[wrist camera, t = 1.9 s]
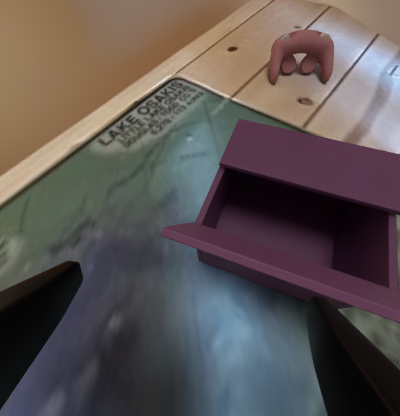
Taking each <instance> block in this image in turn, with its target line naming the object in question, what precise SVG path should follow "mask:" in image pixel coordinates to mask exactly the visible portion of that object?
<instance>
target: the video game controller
mask: <svg viewBox="0 0 400 416" xmlns="http://www.w3.org/2000/svg"><path fill="white" fill-rule="evenodd" d="M297 53H307V55H306V56H305V57H304V58H303V60H302V61H301V64H300V70H301V71H302V72H304V73H309V72H311V71H312V70H313V69H314V67H315V66H316V65H317V63H319V65H320V69H321V77H322V80H323V82H327V81H328V80H329V78H330V76H331V74H332V70H333V58H334V44H333V41H332V39H331V38H330V35H329V34H326V33H322V32H319V31H316V30H300V31H295V32H292V33H289V34H285V35H283V36H281V37H280V38H278V39H277V40H276V41H275V42H274V43H273V46H272V49H271V57H270V80H271V82H272V83H275V82H276V80H277V78H278V76H279V71H280V67H281V70H282V71H283V72H284V73H291V72H292V71H293V70H294V69H295V67H296V59H295V58H294V56H293V54H297Z"/></svg>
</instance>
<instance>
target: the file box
mask: <svg viewBox="0 0 400 416" xmlns="http://www.w3.org/2000/svg"><path fill="white" fill-rule="evenodd" d="M219 166H220V167H219V169H218V172H217V174H216V176H215V179H214V181H213V183H212V185H211V188H210V190H209V192H208V194H207V197H206V199H205V201H204V204H203V206H202V208H201V210H200V213H199V215H198V217H197V219H196V222H195V223H197V224H200V225H203V226H206V227H209V228H212V229H215V230H218V231H221V232H224V233H227V234H230V235H233V236H236V237H239V238H242V239H245V240H247V241H250V242H253V243H256V244H259V245H262V246H265V247H268V248H271V249H274V250H277V251H280V252H283V253H286V254H289V255H292V256H295V257H298V258H300V259H303V260H306V261H309V262H312V263H315V264H318V265H321V266H324V267H327V268H330V269H333V270H336V271H339V272H342V273H345V274H348V275H351V276H353V277H356V278H359V279H362V280H365V281H368V282H371V283H374V284H377V285H380V286H383V287H386V288H389V289H392V290H395V291H398V261H397V224H396V214H397V215H400V154H395V153H391V152H386V151H382V150H377V149H373V148H368V147H364V146H359V145H355V144H350V143H346V142H341V141H337V140H332V139H328V138H323V137H318V136H314V135H309V134H305V133H300V132H296V131H291V130H287V129H282V128H278V127H273V126H269V125H264V124H260V123H255V122H251V121H246V120H242V119H239V120H238V122H237V125H236V127H235V129H234V131H233V134H232V136H231V138H230V140H229V143H228V145H227V147H226V149H225V152H224V154H223V156H222V158H221V161H220V164H219ZM197 254H198V259H199V261H201V262H203V263H206V264H209V265H211V266H214V267H217V268H219V269H222V270H224V271H227V272H230V273H232V274H235V275H238V276H240V277H243V278H246V279H248V280H251V281H254V282H256V283H259V284H262V285H264V286H267V287H269V288H272V289H275V290H277V291H280V292H283V293H285V294H288V295H291V296H293V297H296V298H299V299H301V300H304V301H307V302H309V301H310V299H311V297H312V296H318V297H324V298H326V299H327V300H328V301H329V302H330V303H331V304H332V305H333V306H334V307H335V308H336V309H341V308H347V307H353V306H352V305H349V304H346V303H343V302H341V301H338V300H335V299H332V298H330V297H327V296H324V295H322V294H319V293H316V292H313V291H311V290H308V289H305V288H302V287H300V286H297V285H294V284H291V283H289V282H286V281H283V280H281V279H278V278H275V277H272V276H270V275H267V274H264V273H261V272H259V271H256V270H253V269H251V268H248V267H245V266H242V265H240V264H237V263H234V262H231V261H229V260H226V259H223V258H220V257H218V256H215V255H212V254H210V253H207V252H204V251H201V250H199V249H197Z"/></svg>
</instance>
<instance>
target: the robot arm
mask: <svg viewBox="0 0 400 416" xmlns="http://www.w3.org/2000/svg"><path fill="white" fill-rule="evenodd" d="M82 281H83V275H82V271H81V267H80V264H79V263H78V262H75V261H66V262H64V263H62V264H60V265H57V266H55V267H53V268H51V269H49V270H47V271H44V272H42V273H40V274H38V275H36V276H33V277H31V278H29V279H27V280H25V281H23V282H20V283H18V284H16V285H14V286H12V287H9V288H7V289H5V290H3V291H1V292H0V410H1V408H2V407H3V405H4V404H5V402H6V401H7V399H8V398H9V396H10V395H11V393H12V392H13V390H14V389H15V387H16V386H17V384H18V383H19V382H20V380H21V379H22V377H23V376H24V374H25V373H26V371H27V370H28V368H29V367H30V365H31V364H32V362H33V361H34V359H35V358H36V356H37V355H38V354H39V352H40V351H41V349H42V348H43V346H44V345H45V343H46V342H47V340H48V339H49V337H50V336H51V334H52V333H53V331H54V330H55V328H56V327H57V326H58V324H59V322H60V321H61V319H62V318H63V316H64V314H65V313H66V311H67V309H68V307H69V305H70V304H71V302H72V300H73V298H74V296H75V295H76V293H77V291H78V289H79V287H80V286H81V284H82ZM305 318H306V324H307V330H308V336H309V342H310V347H311V353H312V359H313V364H314V368H315V372H316V375H317V379H318V383H319V386H320V390H321V394H322V397H323V401H324V405H325V408H326V412H327V415H328V416H400V370H399V369H398V368H397V367H396V366H395V365H394V364H393V363H392V362H391V361H390V360H389V359H388V358H387V357H386V356H385V355H384V354H383V353H382V352H381V351H380V350H379V349H378V348H377V347H376V346H374V345H373V344H372V343H371V342H370V341H369V340H368V339H367V338H366V337H365V336H364V335H363V334H362V333H361V332H360V331H359V330H358V329H357V328H356V327H355V326H354V325H353V324H352V323H351V322H350V321H349V320H348V319H347V318H346V317H344V316H343V315H342V314H341V313H340V312H339V311H338V310H337V309H336V308H335V307H334V306H333V305H332V304H331V303H330V302H329V301H328V300H327V299H326V298H324V297H318V296H312V297H311V299H310V301H309V304H308V307H307V309H306V313H305Z"/></svg>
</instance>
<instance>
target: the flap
mask: <svg viewBox="0 0 400 416" xmlns="http://www.w3.org/2000/svg"><path fill="white" fill-rule="evenodd" d="M161 236H163V237H166V238H169V239H171V240H174V241H177V242H180V243H182V244H185V245H188V246H190V247H193V248H196V249H199V250H201V251H204V252H207V253H210V254H212V255H215V256H218V257H220V258H223V259H226V260H229V261H231V262H234V263H237V264H240V265H242V266H245V267H248V268H251V269H253V270H256V271H259V272H261V273H264V274H267V275H270V276H272V277H275V278H278V279H281V280H283V281H286V282H289V283H291V284H294V285H297V286H300V287H302V288H305V289H308V290H311V291H313V292H316V293H319V294H322V295H324V296H327V297H330V298H332V299H335V300H338V301H341V302H343V303H346V304H349V305H352V306H354V307H357V308H360V309H362V310H365V311H368V312H371V313H373V314H376V315H379V316H382V317H384V318H387V319H390V320H393V321H395V322H398V323H400V292H398V291H395V290H392V289H389V288H386V287H383V286H380V285H377V284H374V283H371V282H368V281H365V280H362V279H359V278H356V277H353V276H351V275H348V274H345V273H342V272H339V271H336V270H333V269H330V268H327V267H324V266H321V265H318V264H315V263H312V262H309V261H306V260H303V259H300V258H298V257H295V256H292V255H289V254H286V253H283V252H280V251H277V250H274V249H271V248H268V247H265V246H262V245H259V244H256V243H253V242H250V241H247V240H245V239H242V238H239V237H236V236H233V235H230V234H227V233H224V232H221V231H218V230H215V229H212V228H209V227H206V226H203V225H200V224H197V223H194V222H192V223H186V224H181V225H175V226H169V227H164V228H163V230H162V234H161Z"/></svg>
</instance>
